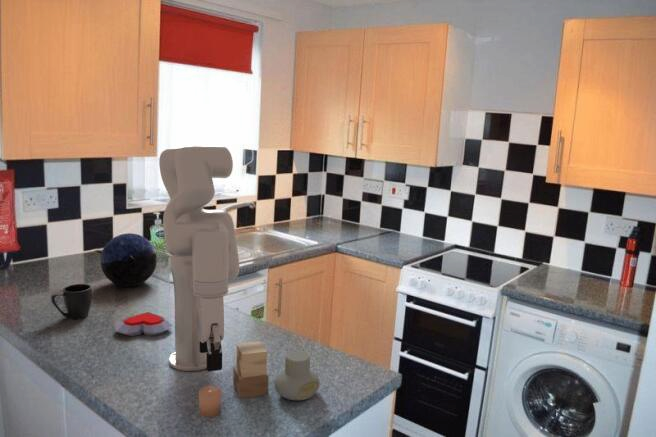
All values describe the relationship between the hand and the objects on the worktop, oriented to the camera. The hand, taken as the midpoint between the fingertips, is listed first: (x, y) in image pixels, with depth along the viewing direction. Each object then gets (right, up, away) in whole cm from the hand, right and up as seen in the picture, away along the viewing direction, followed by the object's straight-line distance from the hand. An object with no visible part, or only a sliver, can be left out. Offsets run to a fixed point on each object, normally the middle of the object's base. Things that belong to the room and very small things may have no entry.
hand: (210, 360), depth 117 cm
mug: (-55, 0, +52) cm, 76 cm away
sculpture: (-30, -3, +46) cm, 55 cm away
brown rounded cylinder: (-1, -12, +3) cm, 13 cm away
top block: (+7, -6, +13) cm, 16 cm away
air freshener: (+18, -12, +12) cm, 25 cm away
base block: (+7, -11, +14) cm, 19 cm away
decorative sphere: (-50, +6, +85) cm, 98 cm away
